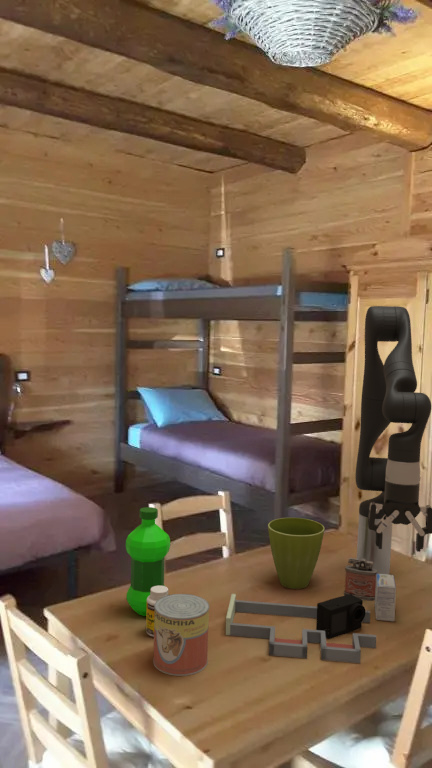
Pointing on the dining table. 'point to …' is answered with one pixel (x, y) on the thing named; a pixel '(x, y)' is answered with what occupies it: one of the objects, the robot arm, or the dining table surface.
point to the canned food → (181, 634)
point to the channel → (313, 636)
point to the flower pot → (295, 549)
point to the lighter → (360, 579)
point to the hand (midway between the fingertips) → (398, 549)
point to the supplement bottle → (154, 595)
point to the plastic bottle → (146, 559)
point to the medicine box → (385, 597)
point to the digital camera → (340, 615)
